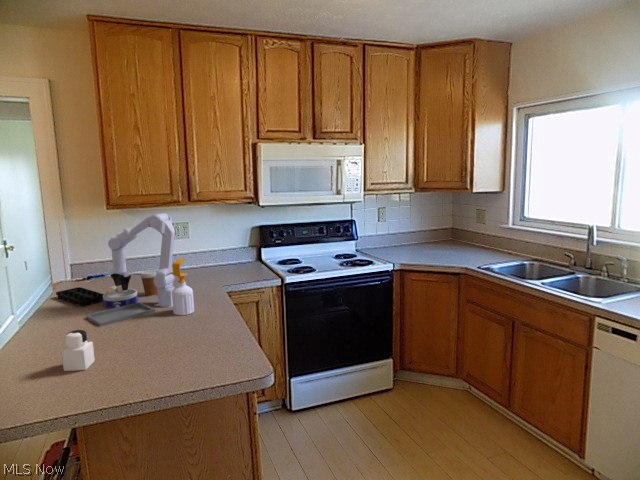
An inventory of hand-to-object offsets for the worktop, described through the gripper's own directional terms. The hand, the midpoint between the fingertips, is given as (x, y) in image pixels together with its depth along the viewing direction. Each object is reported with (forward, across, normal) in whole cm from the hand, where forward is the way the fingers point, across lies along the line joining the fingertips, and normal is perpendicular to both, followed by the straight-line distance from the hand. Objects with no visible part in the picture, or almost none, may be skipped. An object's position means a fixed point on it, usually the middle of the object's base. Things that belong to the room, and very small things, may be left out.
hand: (121, 288), depth 215 cm
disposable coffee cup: (+8, -4, +17) cm, 19 cm away
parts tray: (+7, +19, -9) cm, 22 cm away
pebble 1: (+2, -2, -4) cm, 5 cm away
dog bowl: (+8, 0, -1) cm, 8 cm away
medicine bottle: (+8, +60, -39) cm, 72 cm away
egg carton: (+8, -25, -12) cm, 28 cm away
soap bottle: (+8, +36, +12) cm, 39 cm away
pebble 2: (+2, 0, 0) cm, 2 cm away
